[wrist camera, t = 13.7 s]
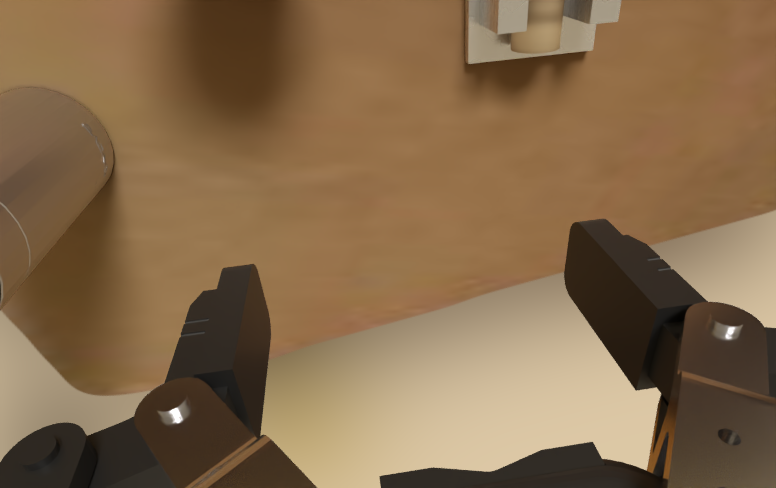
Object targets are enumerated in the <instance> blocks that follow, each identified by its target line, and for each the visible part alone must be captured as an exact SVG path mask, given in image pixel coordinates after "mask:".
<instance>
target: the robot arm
mask: <svg viewBox="0 0 776 488" xmlns="http://www.w3.org/2000/svg"><path fill="white" fill-rule="evenodd" d="M113 164H114V155H113V149H112V145H111V141H110V139H109V137H108V135H107V133H106V131H105V129H104V128H103V126H102V125H101V124H100V122H99V121H98V120H97V118H96V117H95V116H94V115H93V114H91V113H90V112H89V111H88V110H87V109H86V108H85V107H84V106H82V105H80V104H79V103H77V102H76V101H74V100H73V99H71V98H69V97H67V96H65V95H62V94H60V93H58V92H54V91H51V90H47V89H43V88H31V87H27V88H18V89H13V90H11V91H8V92H5V93H2V94H0V310H1V309H2V308H3V306H4V305H5V304H6V303H7V302H8V300H9V299H10V298H11V297H12V296H13V294H14V293H15V292H16V291H17V290H18V288H19V287H20V286H21V284H22V283H23V282H24V281H25V280H26V278H27V277H28V276H29V275H30V274H31V272H32V271H33V270H34V269H35V268H36V266H37V265H38V264H39V263H40V262H41V260H42V259H43V258H44V257H45V256H46V254H47V253H48V252H49V251H50V250H51V248H52V247H53V246H54V245H55V244H56V242H57V241H58V240H59V239H60V238H61V236H62V235H63V234H64V233H65V232H66V230H67V229H68V228H69V227H70V226H71V224H72V223H73V222H74V221H75V220H76V218H77V217H78V216H79V215H80V214H81V212H82V211H83V210H84V209H85V208H86V207H87V205H88V204H89V203H90V202H91V201H92V199H93V198H94V197H95V196H96V195H97V193H98V192H99V191H100V190H101V189H102V187H103V186H104V185H105V184H106V183H107V181H108V179H109V177H110V175H111V173H112V169H113ZM564 278H565V285H566V289H567V291H568V294H569V296H570V297H571V299H572V300H573V301H574V303H575V304H576V306H577V307H578V309H579V310H580V311H581V313H582V314H583V315H584V317H585V318H586V320H587V321H588V323H589V324H590V326H591V327H592V329H593V330H594V331H595V333H596V334H597V336H598V337H599V338H600V340H601V341H602V343H603V344H604V346H605V347H606V348H607V350H608V351H609V353H610V354H611V356H612V357H613V358H614V360H615V361H616V363H617V364H618V366H619V367H620V368H621V370H622V371H623V372H624V374H625V376H626V377H627V378H628V380H629V381H630V383H631V384H632V385H633V387H634V388H635V390H642V389H649V388H655V387H657V388H658V390H659V391H660V392H661V396H660V400H659V403H658V408H657V414H656V420H655V426H654V431H653V438H652V444H651V450H650V456H649V462H648V467H647V471H646V470H644V469H641V468H638V467H636V466H633V465H629V464H626V463H623V462H617V461H613V460H607V459H602V458H601V456H600V455H599V453H598V451H597V449H596V447H595V445H594V444H593V442H589V443H583V444H576V445H570V446H564V447H558V448H552V449H545V450H541V451H538V452H536V453H534V454H532V455H529V456H527V457H525V458H523V459H520V460H518V461H516V462H514V463H512V464H509V465H507V466H505V467H503V468H500V469H498V470H495V471H492V472H482V471H469V470H457V469H444V468H428V469H421V470H415V471H409V472H403V473H396V474H390V475H384V476H380V484H381V488H776V328H767V327H764V326H763V325H762V323H761V322H760V321H759V320H758V319H757V318H756V317H754V316H753V315H752V314H750V313H748V312H746V311H745V310H742V309H740V308H738V307H735V306H732V305H729V304H724V303H718V302H708V301H706V300H705V299H704V298H703V297H702V296H701V295H700V294H699V293H698V292H697V291H696V290H695V289H694V288H692V286H691V285H689V284H688V283H687V282H686V281H685V280H684V279H683V278H682V277H681V276H680V275H679V274H678V273H677V272H676V271H674V270H673V269H672V270H671V268H670V266H669V265H668V264H667V263H666V262H665V261H664V260H663V259H660V256H659V255H657V254H656V253H655V252H654V251H653V250H652V249H651V248H650V247H649V246H648V245H647V244H645V243H643V242H641V241H639V240H637V239H635V238H633V237H631V236H629V235H622V234H621V233H620V232H619V231H618V230H617V229H616V228H615V227H614V226H613V225H612V224H611V223H610V222H609V221H607V220H606V219H597V220H589V221H582V222H575V223H573V224H572V226H571V229H570V234H569V242H568V249H567V257H566V264H565V272H564ZM270 340H271V326H270V318H269V313H268V309H267V305H266V301H265V297H264V293H263V290H262V286H261V282H260V278H259V274H258V271H257V268H256V266H255V265H254V264H250V265H243V266H235V267H227V268H223V269H222V272H221V276H220V279H219V283H218V287H217V289H215V290H208V291H203V292H202V293H201V294H200V296H199V297H198V298H197V299H196V300H195V301H194V302H193V303H192V304H191V305H190V308H189V311H188V314H187V317H186V320H185V324H184V326H183V329H182V332H181V337H180V338H179V341H178V344H177V347H176V350H175V353H174V356H173V359H172V362H171V365H170V368H169V371H168V374H167V377H166V380H165V383H164V384H162V385H160V386H158V387H156V388H155V389H153V390H152V391H151V392H150V393H149V394H147V395H146V396H145V397H144V398H143V400H142V401H141V402H140V403H139V405H138V407H137V409H136V411H135V415H134V417H132V418H130V419H128V420H126V421H124V422H121V423H119V424H116V425H114V426H111V427H109V428H106V429H104V430H101V431H99V432H96V433H93V434H91V435H88V436H87V435H86V434H85V432H84V431H83V429H82V428H81V427H80V426H78V425H76V424H73V423H57V424H53V425H50V426H46V427H44V428H41V429H39V430H37V431H35V432H33V433H32V434H30V435H28V436H26V437H25V438H24V439H22V440H21V441H19V442H18V443H17V444H16V445H15V446H14V447H13V448H12V449H11V450H10V451H9V452H8V453H7V454H6V455H5V456H4V458H3V459H2V461H1V462H0V488H317V487H316V486H315V485H314V484H313V483H312V482H311V481H310V480H309V479H308V478H307V477H306V476H305V474H304V473H303V472H302V471H301V470H300V469H299V468H298V467H297V466H296V465H295V464H294V463H293V462H292V461H291V460H290V459H289V458H288V457H287V455H286V454H285V453H284V452H283V451H282V450H281V449H280V448H279V447H278V446H277V445H276V444H275V443H274V442H273V441H272V440H271V439H270V438H269V437H267V436H266V435H262V436H260V433H261V423H262V414H263V405H264V395H265V386H266V377H267V368H268V367H267V366H268V358H269V349H270Z"/></svg>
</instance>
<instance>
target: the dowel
mask: <svg viewBox="0 0 776 488" xmlns="http://www.w3.org/2000/svg"><path fill="white" fill-rule="evenodd" d="M563 10H564V0H529V2H528V17H527V31H524V32H515V33H511V50H512V51H514V52H517V53H526V54H539V53H548V52H553V51H556V50H558V49H559V48H560V40H561V30H562V20H563Z"/></svg>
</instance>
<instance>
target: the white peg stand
mask: <svg viewBox="0 0 776 488" xmlns="http://www.w3.org/2000/svg"><path fill="white" fill-rule="evenodd" d="M528 2H529V0H465V62H467V63H468V64H473V63H482V62H491V61H500V60H509V59H518V58H527V57H537V56H546V55H555V54H564V53H573V52H582V51H591V50H593V45H594V37H595V30H596V24H599V23H609V22H618V18H619V11H620V5H621V0H564V10H563V20H562V30H561V40H560V48H559V49H558V50H556V51H553V52H548V53H539V54H526V53H517V52H514V51H512V50H511V33H515V32H524V31H527V17H528Z"/></svg>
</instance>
